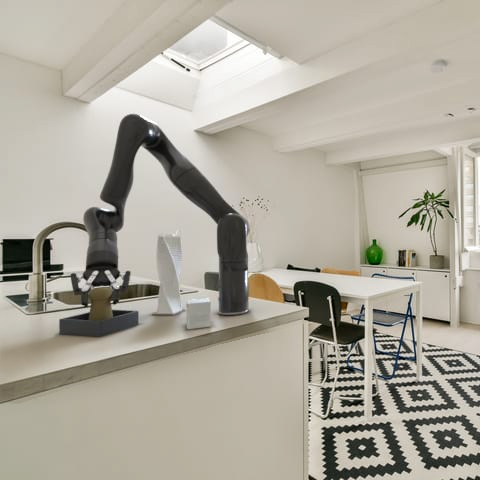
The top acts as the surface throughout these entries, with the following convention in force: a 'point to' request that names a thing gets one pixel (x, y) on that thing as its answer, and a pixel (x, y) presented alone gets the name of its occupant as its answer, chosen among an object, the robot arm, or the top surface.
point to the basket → (97, 324)
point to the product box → (198, 313)
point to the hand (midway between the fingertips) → (100, 303)
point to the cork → (100, 304)
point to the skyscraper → (169, 273)
